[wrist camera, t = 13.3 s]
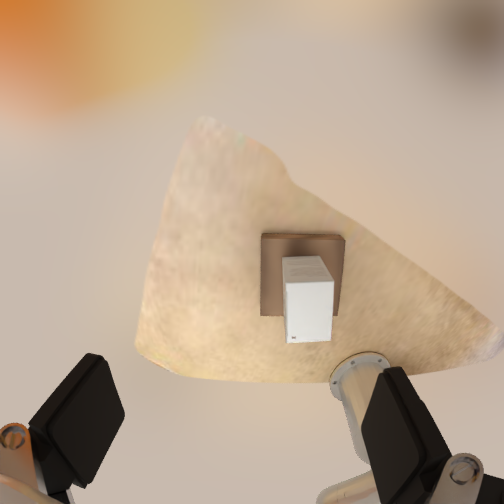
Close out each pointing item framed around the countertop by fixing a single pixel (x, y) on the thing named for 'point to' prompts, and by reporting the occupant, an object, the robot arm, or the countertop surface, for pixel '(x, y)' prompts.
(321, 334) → the small box
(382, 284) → the countertop surface
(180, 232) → the countertop surface
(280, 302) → the walnut block
